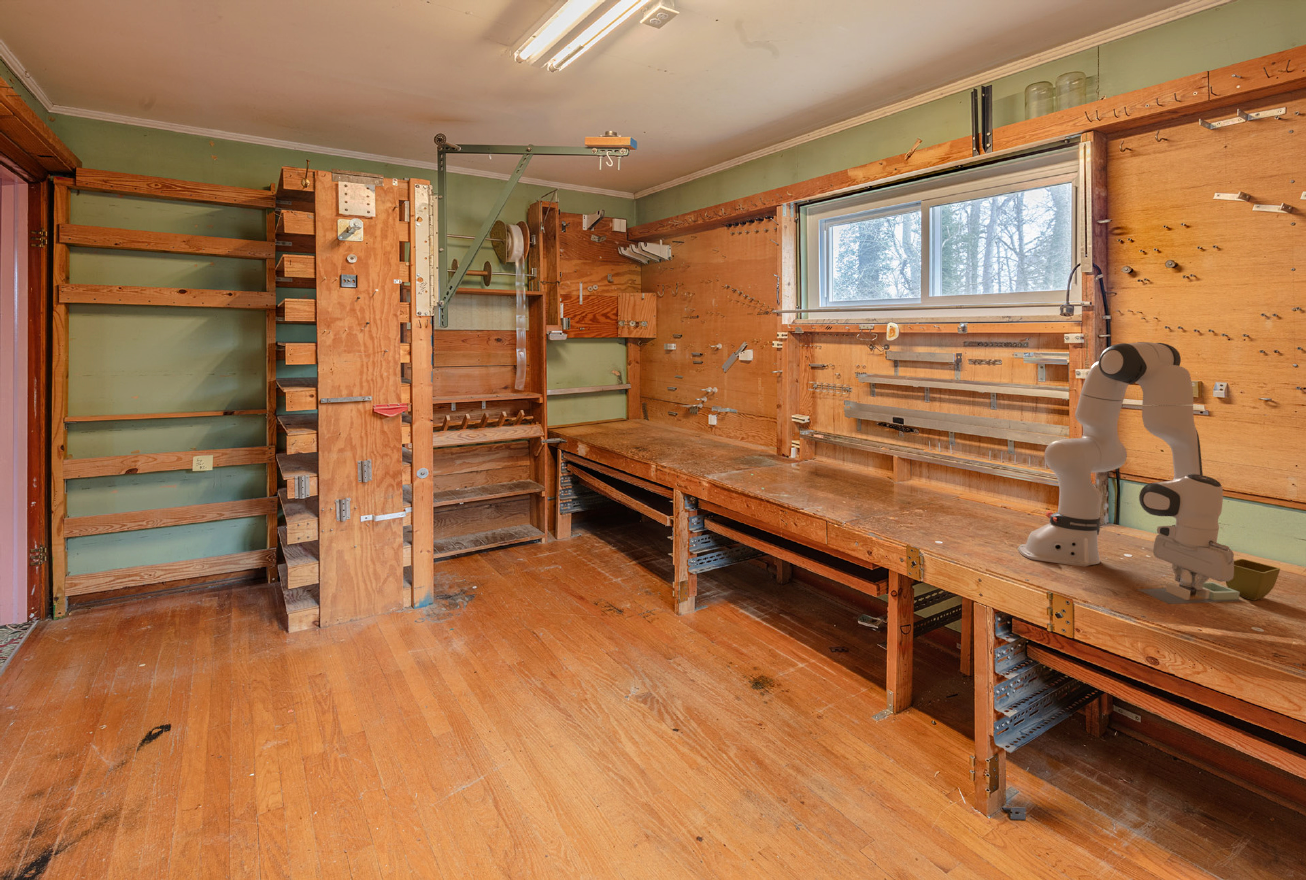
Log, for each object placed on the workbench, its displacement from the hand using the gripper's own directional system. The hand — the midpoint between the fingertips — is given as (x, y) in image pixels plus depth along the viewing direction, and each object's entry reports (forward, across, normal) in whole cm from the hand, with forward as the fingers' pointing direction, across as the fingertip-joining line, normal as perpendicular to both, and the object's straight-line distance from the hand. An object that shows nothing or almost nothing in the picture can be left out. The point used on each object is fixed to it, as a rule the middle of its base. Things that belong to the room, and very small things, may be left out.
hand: (1188, 585), depth 175 cm
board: (+4, 0, 0) cm, 4 cm away
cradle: (+4, 0, 0) cm, 4 cm away
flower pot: (+4, 0, -19) cm, 19 cm away
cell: (+2, 0, 0) cm, 2 cm away
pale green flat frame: (+4, 0, -8) cm, 9 cm away
